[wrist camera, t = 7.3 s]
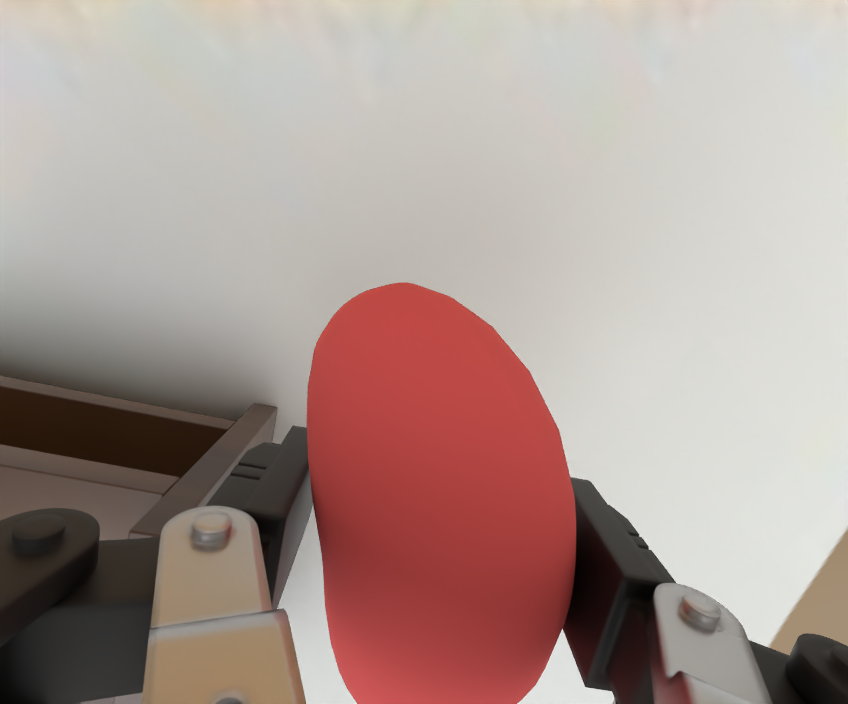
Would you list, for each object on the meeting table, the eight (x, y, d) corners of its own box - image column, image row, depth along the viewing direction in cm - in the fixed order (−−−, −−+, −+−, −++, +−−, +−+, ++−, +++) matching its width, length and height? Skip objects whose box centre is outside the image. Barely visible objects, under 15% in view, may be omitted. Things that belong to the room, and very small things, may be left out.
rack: (-52, 342, 23) (-447, 430, 13) (277, 407, 24) (170, 538, 14) (-51, 571, 26) (-373, 801, 15) (244, 620, 27) (133, 867, 16)
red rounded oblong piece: (587, 340, 13) (605, 250, 7) (558, 715, 11) (549, 1019, 5) (401, 328, 14) (281, 246, 8) (357, 656, 13) (177, 842, 7)
